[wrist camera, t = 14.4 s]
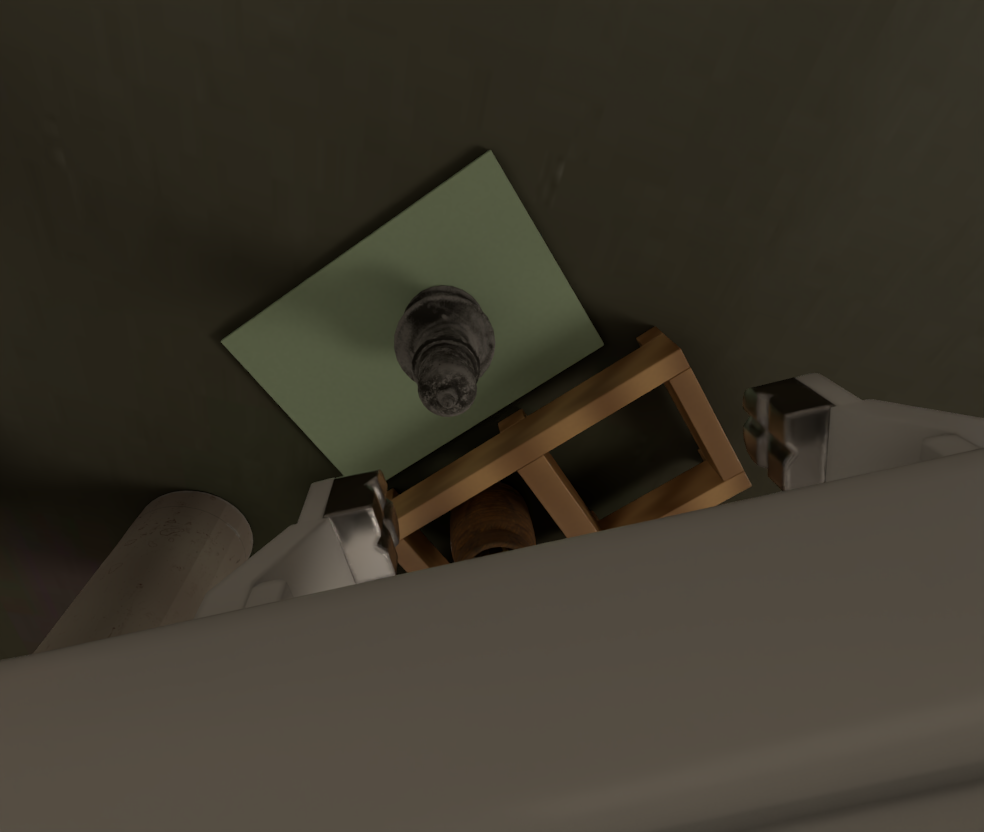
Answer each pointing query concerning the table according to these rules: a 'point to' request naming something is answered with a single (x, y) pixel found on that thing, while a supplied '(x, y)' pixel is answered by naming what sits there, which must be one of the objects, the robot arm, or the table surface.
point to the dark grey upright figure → (444, 347)
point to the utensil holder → (490, 523)
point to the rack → (557, 423)
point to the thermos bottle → (158, 569)
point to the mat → (382, 302)
